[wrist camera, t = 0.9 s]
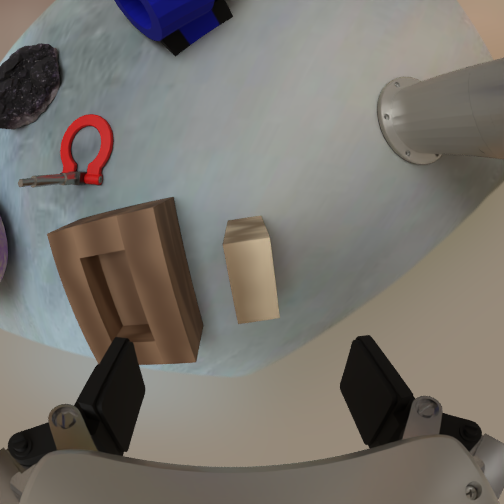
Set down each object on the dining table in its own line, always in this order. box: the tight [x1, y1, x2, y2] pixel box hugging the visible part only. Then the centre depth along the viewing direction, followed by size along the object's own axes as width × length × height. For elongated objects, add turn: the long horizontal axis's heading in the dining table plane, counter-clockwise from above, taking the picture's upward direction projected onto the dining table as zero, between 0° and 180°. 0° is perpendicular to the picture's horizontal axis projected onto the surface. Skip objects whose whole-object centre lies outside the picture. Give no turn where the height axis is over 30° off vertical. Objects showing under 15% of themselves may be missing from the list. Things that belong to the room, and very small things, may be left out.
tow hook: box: [18, 114, 113, 187], centre depth 22 cm, size 8×13×9 cm
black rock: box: [0, 44, 60, 129], centre depth 20 cm, size 13×14×10 cm
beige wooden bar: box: [223, 216, 280, 324], centre depth 29 cm, size 4×8×10 cm, turn 8°
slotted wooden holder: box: [47, 197, 203, 365], centre depth 30 cm, size 14×18×8 cm
